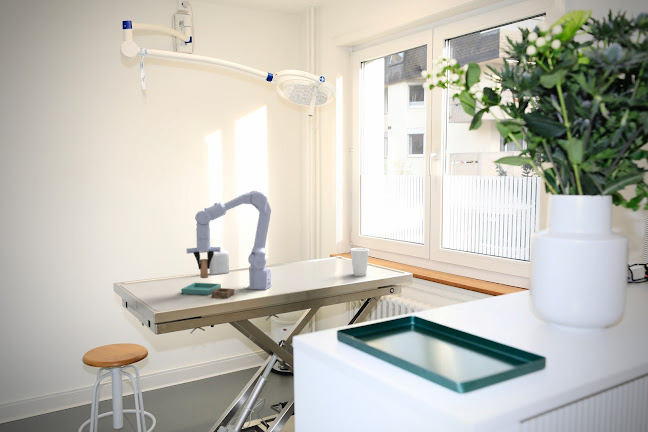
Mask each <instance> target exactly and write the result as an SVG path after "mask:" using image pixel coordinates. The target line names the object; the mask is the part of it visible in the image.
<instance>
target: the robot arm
mask: <svg viewBox="0 0 648 432" xmlns="http://www.w3.org/2000/svg"><path fill="white" fill-rule="evenodd" d="M243 204H245V205H252V206H253V207H254V208H255V209H256V210H257V211H258V213H259V216H258V220H257V226H256V231H255V237H254V243H253V247H252V248H251V252H250V254H249V256H248V258H247V259H248V263H249V264H250V266H249V267H248V268H249V270H248V271H249V275H248V276H249V277H248V278H249V279H248V280H249V286H246V289H248V290H265V291H266V290H267V289H269V288H271V287H272V273H271V269H270V268H266V264H267V260H266V259H267V258H266V250H265V247H266V242H267V237H268V230H269V225H270V220H271V214H272V209H271V206H270V204H269V201H268V198H267V196H266V195H265V194H264V193H262V192H261V191H258V190H251V191H250V192H245V193H243V194H241V195H239V196H237V197H234V198H233V199H230V200H229V201H227V202H224V203H221V202H218V203H217V202H214V203H213V205H211V206H209V207H208V208H207V207H204V208H203V210H199V211H197V213H196V214H195V217H194V219H195V221H196V230H195V231H196V247H192V248H190V247H189V248H186V254H193V256H194V258H195V260H196V262H197V266H198V270H200V269H201V267H200V260H201V253H202V254H203V253H207V258H206V259H208V270H209V268H210V263H211V260H212V257H213V255H214V252H221V251H220V250H221V247H220V246H211V231H210V230H211V228H210V222H211V221H214V220H217V219H218V218H220V217H223V216H224V215H226V213H227V211H229V210H231V209H234V208H236V207H239V206H240V205H243Z"/></svg>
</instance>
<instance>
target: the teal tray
mask: <svg viewBox="0 0 648 432" xmlns="http://www.w3.org/2000/svg"><path fill="white" fill-rule="evenodd" d="M218 288H222V284H221V283H213V282H212V283H211V282H193V283H191V284H189V285H187V286H185V287H182V288H181V290H180V292H181V295H194V296H196V295H197V296H210V295H212V292H213V291H214V290H216V289H218Z"/></svg>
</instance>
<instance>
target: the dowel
mask: <svg viewBox="0 0 648 432" xmlns="http://www.w3.org/2000/svg"><path fill="white" fill-rule="evenodd" d="M200 267H201V269H199V270H200V273H199V274H200V279H208V278H209V269H208V258H200Z"/></svg>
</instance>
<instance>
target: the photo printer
mask: <svg viewBox="0 0 648 432" xmlns="http://www.w3.org/2000/svg"><path fill="white" fill-rule="evenodd" d="M220 251H221V252H214V255H213V257H212V260H211V263H210V268H209V269H208V272H209V275H210V276H212V275H213V276H214V275H223V274H229V273H230V262H229V261H230V257H229V255H230V254H229V251H228V250H225V249H220Z"/></svg>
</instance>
